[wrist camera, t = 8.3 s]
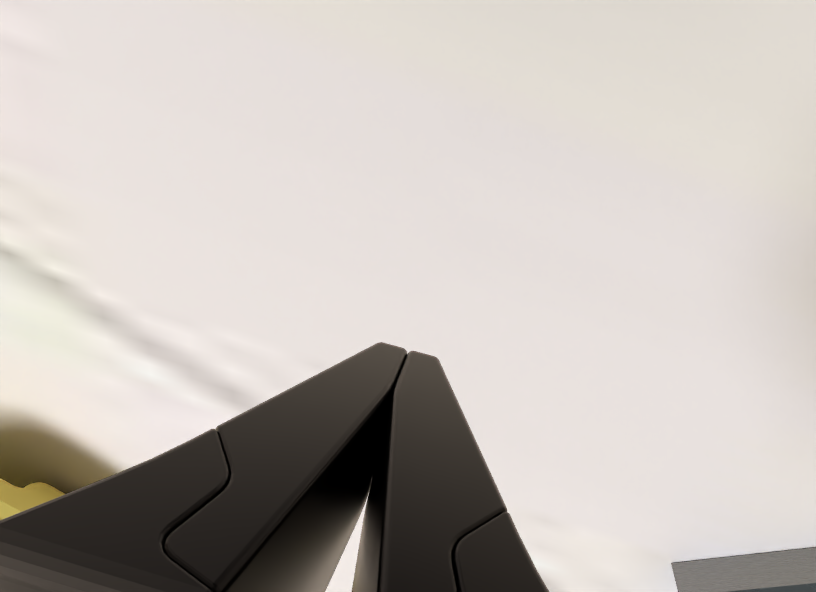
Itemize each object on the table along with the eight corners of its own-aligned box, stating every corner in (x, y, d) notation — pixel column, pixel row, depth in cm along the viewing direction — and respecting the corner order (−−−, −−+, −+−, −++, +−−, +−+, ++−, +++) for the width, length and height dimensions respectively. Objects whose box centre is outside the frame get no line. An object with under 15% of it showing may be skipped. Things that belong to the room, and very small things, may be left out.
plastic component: (270, 646, 27) (133, 847, 27) (278, 558, 34) (171, 716, 34) (-198, 392, 23) (-357, 622, 23) (-78, 354, 31) (-198, 529, 31)
